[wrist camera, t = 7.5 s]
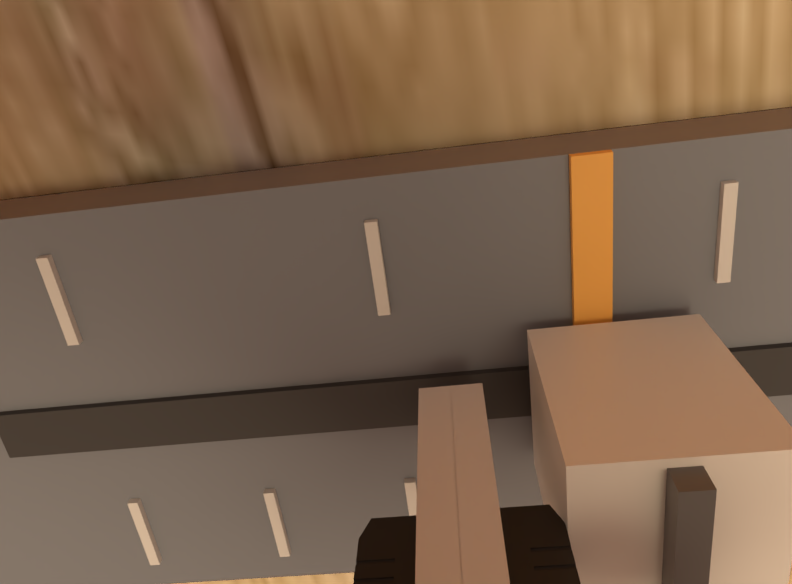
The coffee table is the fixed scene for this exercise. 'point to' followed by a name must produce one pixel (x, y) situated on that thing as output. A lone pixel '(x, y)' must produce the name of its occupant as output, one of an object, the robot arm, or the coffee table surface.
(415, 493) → the console board
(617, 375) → the fader knob
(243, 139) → the coffee table surface
